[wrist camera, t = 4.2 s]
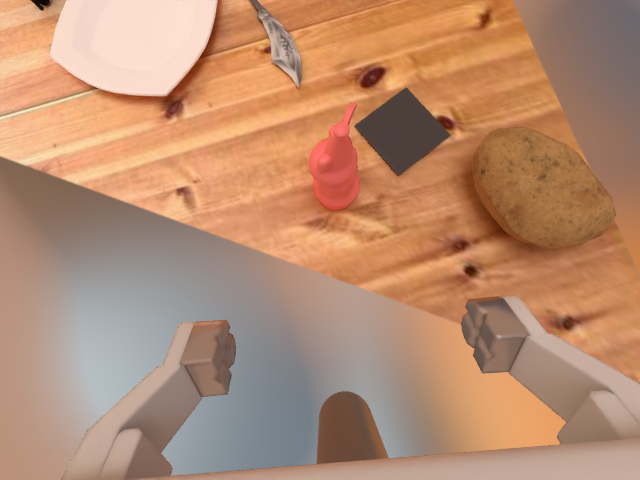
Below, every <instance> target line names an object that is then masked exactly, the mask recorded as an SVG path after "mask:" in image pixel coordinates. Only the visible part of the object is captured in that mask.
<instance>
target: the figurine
mask: <svg viewBox="0 0 640 480" xmlns="http://www.w3.org/2000/svg"><path fill="white" fill-rule="evenodd" d="M356 105H357V104H355V103H350V105H349V107H348V109H347V111H346V113H345V115H344V118H343V120H342V122H340V123H338V124H336V125H334V126H332V127H331V128H330V130H329V138H328V139H324V140H322V141H320V142H319V143H318V144H317V145H316V146H315V147H314V148H313V150H312V152H311V154H310V157H309V170H310V172H311V174H312V176H313V177H314V181H313V189H314V192H315V195H316V197H317V198H318V199H319V200H320V201H321V203H322V204H323V205H324V206H325V207H326V208H328V209H331V210H341V209H344V208H345V207H347V206H348V205H349V204H350V202H352V201H353V200H354V199H355V198H356V196H357V194H358V192H359V189H360V181H359V177H358V175H357V170H358V166H357V153H356V150H355V148H354V147H353V145H352V141H351V139H350V137H349V136H348V135H349V123H350V120H351V118H352V115H353V113H354V110H355V108H356Z"/></svg>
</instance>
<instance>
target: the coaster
mask: <svg viewBox="0 0 640 480" xmlns="http://www.w3.org/2000/svg"><path fill="white" fill-rule="evenodd" d="M355 128H356V129H357V130H358V131H359V132H360V133H361V135H362V136H363V137H364V138H365V139H366V140H367V141H368V142H369V144H370V145H371V146H372V147H373V148H374V149H375V150H376V152H377V153H378V154H379V155H380V156H381V157H382V158H383V160H384V161H385V162H386V163H387V164H388V165H389V166H390V167H391V169H392V170H393V171H394V172H395V173H396V174H397V175H398V176H399V175H401V174H402V173H403V172H404V171H406V170H407V169H408V168H410V167H411V166H412V165H413V164H415V163H416V162H417V161H419V160H420V159H421V158H422V157H424V156H425V155H426V154H428V153H429V152H430V151H431V150H433V149H434V148H435V147H437V146H438V145H439V144H440V143H442V142H443V141H444V140H446V139H447V138H448V137H449V136H450V134H449V133H448V132H447V131H446V129H445V128H444V127H443V126H442V125H441V124H440V123H439V122H438V121H437V120H436V119H435V118H434V117H433V116H432V115H431V113H430V112H429V111H428V110H427V109H426V108H425V107H424V106H423V105H422V104H421V103H420V102H419V101H418V100H417V98H416V97H415V96H414V95H413V94H412V93H411V92H410V91H409V90H408V89H407V88H405V89H403V90H402V91H401V92H399V93H398V94H396V95H395V96H394V97H392V98H391V99H390V100H388V101H387V102H386V103H384V104H383V105H382V106H380V107H379V108H378V109H376V110H375V111H374V112H372V113H371V114H370V115H368V116H367V117H366V118H364V119H363V120H362V121H360V122H359V123H358V124H356V125H355Z"/></svg>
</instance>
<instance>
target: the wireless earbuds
mask: <svg viewBox="0 0 640 480" xmlns="http://www.w3.org/2000/svg"><path fill="white" fill-rule="evenodd" d="M31 1H32V2H33V3H34V4H35V5H36V6H37V7H38V8H39V9H40V10H41V11H43V10H44V8H43V7H42V6H41V5H47V4H48V3H49V0H31ZM40 4H41V5H40Z"/></svg>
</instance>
